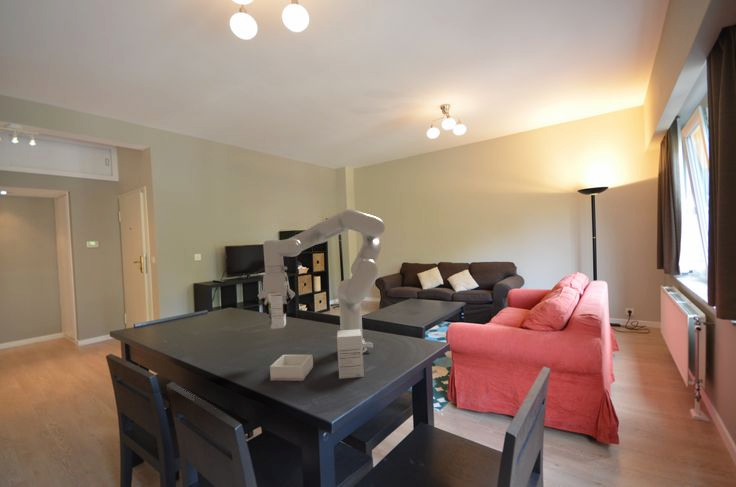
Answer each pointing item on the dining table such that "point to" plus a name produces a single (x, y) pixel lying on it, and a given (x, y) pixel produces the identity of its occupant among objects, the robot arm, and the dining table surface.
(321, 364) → the dining table surface
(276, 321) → the syrup box
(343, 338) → the supplement box
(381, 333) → the dining table surface
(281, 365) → the box
